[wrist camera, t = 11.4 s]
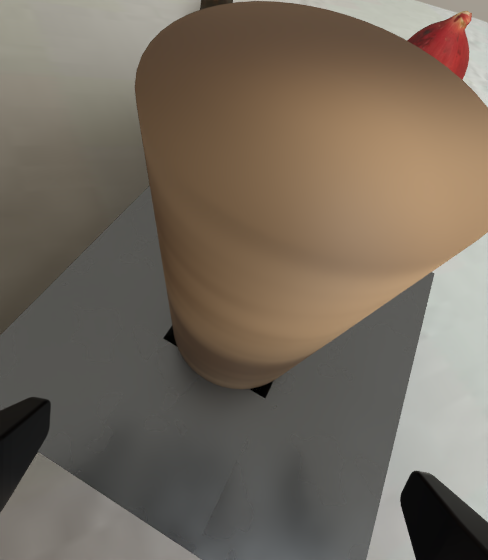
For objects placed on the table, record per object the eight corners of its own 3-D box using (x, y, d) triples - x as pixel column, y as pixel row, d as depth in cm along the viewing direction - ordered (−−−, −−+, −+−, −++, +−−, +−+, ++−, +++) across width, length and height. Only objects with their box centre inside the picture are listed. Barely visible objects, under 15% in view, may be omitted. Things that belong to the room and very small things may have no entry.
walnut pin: (299, 387, 16) (594, 250, 4) (178, 405, 14) (133, 278, 3) (276, 281, 18) (420, 19, 7) (172, 289, 17) (135, -16, 6)
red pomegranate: (368, 123, 28) (428, 16, 21) (369, 88, 30) (423, -18, 23) (429, 141, 28) (510, 41, 21) (425, 104, 31) (495, 5, 24)
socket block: (310, 606, 12) (343, 652, 10) (-8, 399, 14) (-55, 390, 11) (401, 295, 20) (434, 273, 17) (188, 183, 21) (187, 146, 19)
